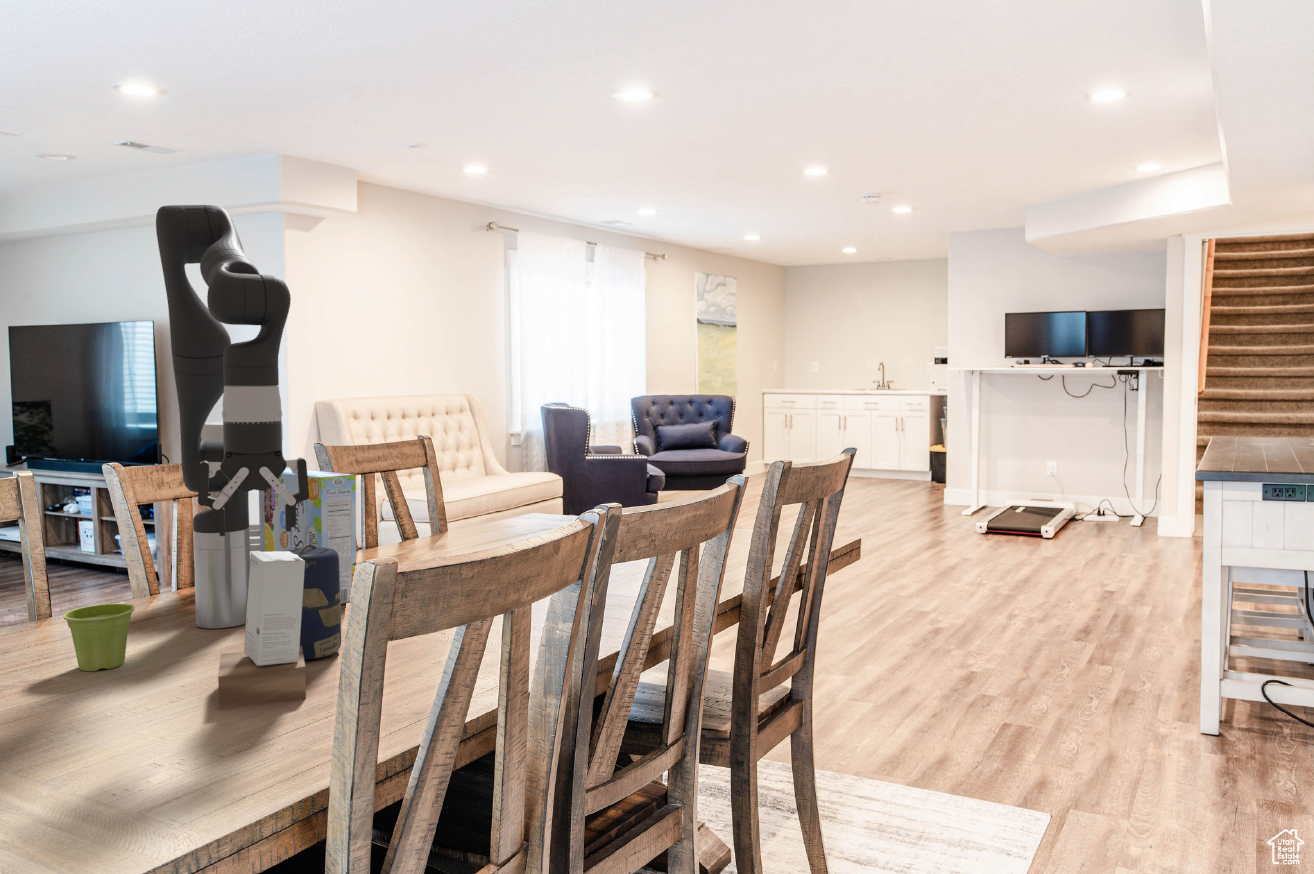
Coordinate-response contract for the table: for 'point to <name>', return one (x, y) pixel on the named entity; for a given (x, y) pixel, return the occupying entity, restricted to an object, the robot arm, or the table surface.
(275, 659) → the skincare box
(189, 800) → the table surface
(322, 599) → the canister
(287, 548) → the snack box
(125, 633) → the plant pot
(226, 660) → the walnut block
